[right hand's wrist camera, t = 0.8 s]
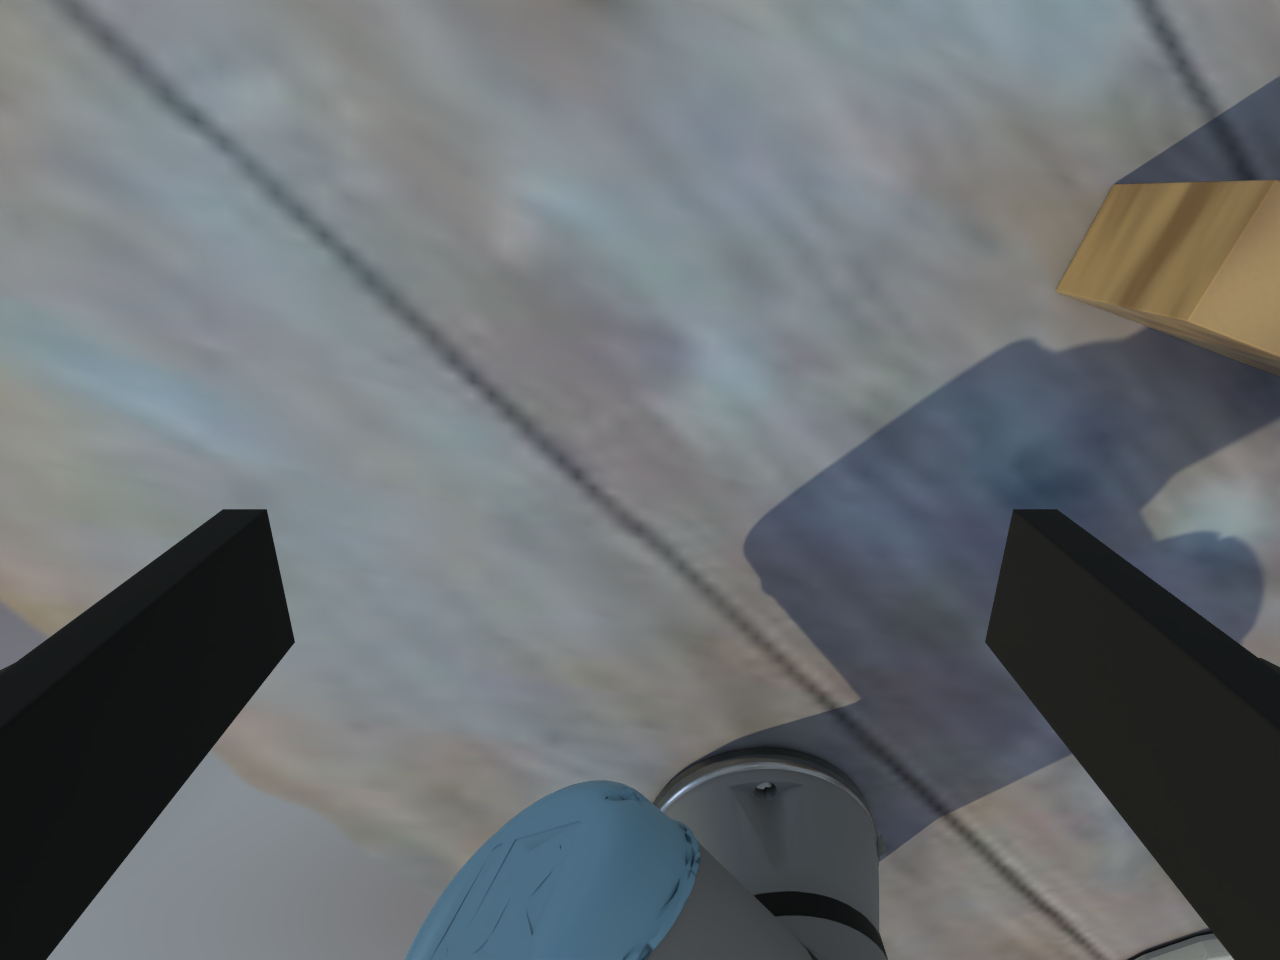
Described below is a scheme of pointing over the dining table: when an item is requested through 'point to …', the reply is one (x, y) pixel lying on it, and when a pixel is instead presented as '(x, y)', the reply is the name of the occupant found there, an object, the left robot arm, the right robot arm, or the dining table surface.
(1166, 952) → the wall clock
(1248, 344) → the bar
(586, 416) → the dining table surface
